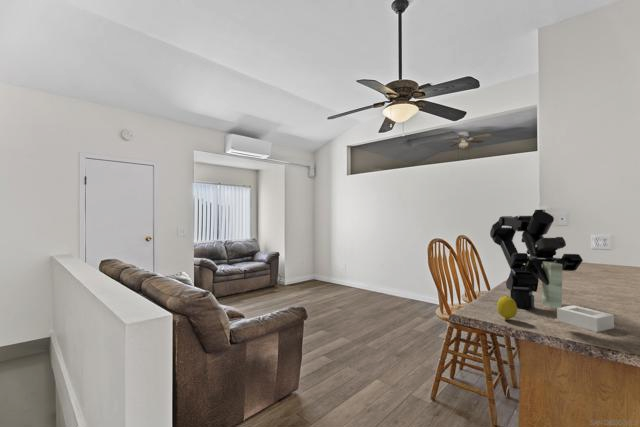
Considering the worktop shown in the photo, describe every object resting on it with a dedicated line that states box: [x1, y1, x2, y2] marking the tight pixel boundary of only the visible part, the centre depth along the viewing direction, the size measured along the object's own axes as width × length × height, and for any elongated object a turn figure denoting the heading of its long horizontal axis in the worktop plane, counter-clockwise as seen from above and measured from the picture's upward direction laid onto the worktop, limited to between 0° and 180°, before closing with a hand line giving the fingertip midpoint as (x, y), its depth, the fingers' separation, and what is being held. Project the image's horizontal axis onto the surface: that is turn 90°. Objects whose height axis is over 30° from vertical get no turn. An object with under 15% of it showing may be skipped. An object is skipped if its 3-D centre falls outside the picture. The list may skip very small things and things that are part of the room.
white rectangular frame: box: [556, 304, 615, 333], centre depth 94 cm, size 11×9×4 cm
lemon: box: [496, 295, 518, 321], centre depth 98 cm, size 6×6×8 cm
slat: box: [541, 261, 563, 309], centre depth 91 cm, size 5×3×13 cm, turn 166°
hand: (554, 284), depth 90 cm, fingers closed on slat, 3 cm apart
